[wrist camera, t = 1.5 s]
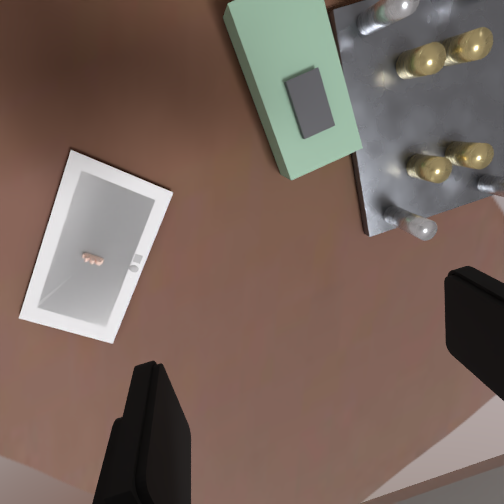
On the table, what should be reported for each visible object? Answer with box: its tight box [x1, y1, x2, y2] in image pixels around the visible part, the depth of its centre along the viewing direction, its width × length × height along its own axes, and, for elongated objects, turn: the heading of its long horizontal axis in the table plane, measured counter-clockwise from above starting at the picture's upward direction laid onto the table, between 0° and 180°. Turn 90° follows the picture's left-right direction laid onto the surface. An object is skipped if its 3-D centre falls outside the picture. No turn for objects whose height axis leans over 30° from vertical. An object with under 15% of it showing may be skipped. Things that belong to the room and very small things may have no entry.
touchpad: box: [19, 150, 173, 344], centre depth 28 cm, size 8×15×2 cm, turn 154°
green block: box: [223, 0, 363, 180], centre depth 25 cm, size 12×6×4 cm, turn 22°
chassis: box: [328, 0, 504, 240], centre depth 27 cm, size 18×14×6 cm
